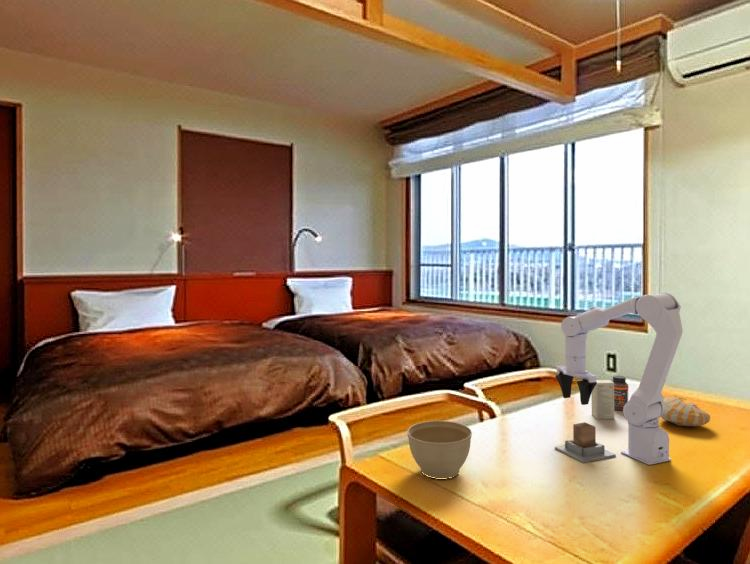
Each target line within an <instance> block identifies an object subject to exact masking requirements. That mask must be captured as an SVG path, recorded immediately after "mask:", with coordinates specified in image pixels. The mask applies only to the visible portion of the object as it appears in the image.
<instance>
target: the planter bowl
mask: <svg viewBox="0 0 750 564" xmlns="http://www.w3.org/2000/svg"><path fill="white" fill-rule="evenodd" d="M406 431H407V432H406V433H407V438H408V445H409V450H410V453H411V455H412V458H413V460H414V461H415V463H416V464H417V465H418V467H419V468H420V471H422V472H423V473H424V474H426V475H428V476H431V477H435V478H449V477H453V476H456V475H457V474H458V473H459V474H460V469H461V468H462V467H463V465H464V464H465V462H466V460H467V458H468V456H469V452H470V448H471V442H472V441H471V440H472V435H473V434H472V433H473V432H472V430H471V428H470V427H469V426H466V425H465V424H461V423H459V422H456V421H450V420H426V421H423V422H418V423H415V424H413V425H411V426H409V428H408V429H407V430H406ZM422 472H421V473H422ZM459 474H458V475H459ZM458 475H457V476H458ZM457 476H456V477H457Z"/></svg>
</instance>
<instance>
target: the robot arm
mask: <svg viewBox="0 0 750 564" xmlns="http://www.w3.org/2000/svg"><path fill="white" fill-rule="evenodd" d="M681 308H682V307H681V305H680V303H679V301H678V300H677V299H676V298H675V296H674V295H672V294H671V293H670V292H669V293H668V292H660V293H656V294H644V295H641V296H635V297H632V298H631V297H630V298H628V299H626V300H624V301H621V302H619V303H616V304H614V305H611V306H610V307H607V308H603V307H600V306H596V305H594V306H591V307H589V310H586V311H584V312H577V313H576V315H575V316H567V317H565V318H564V319H562V320H561V324H560V329H561V331H562V333H563V334H564V335H565V336H564V337H565V340H564V342H565V345H564V347H565V349H564V350H565V351H564V352H565V354H564V355H565V357H564V359H565V361H564V362H565V365H557V366H556V373H557V374H555V379H556V380H557V382H558V384H559V386H560V390H561V393H562V397H563V399H570V398H571V395H572V385H573V380H574V378H577V379H580V380H577V381H576V383H577V386H578V391H579V397H580V399H579V400H580V405H581V406H582V405H583V406H585V405H589V403H590V399H591V397H592V394H591V393H592V391H593V389H594V387H595V386H596V384H597V382H596V380H597V375H596V374H593V373H592V372H590V371H587V370H586V369H587V367H586V366H587V364H586V362H587V350H586V349H587V346H586V345H587V343H586V341H587V334H588V333H590V332H591V331H595V330H598V329H601V328H604V327H607V326H608V325H609V323H610V320H613V319H616V318H619V317H623V316H625V315H629V314H632V315H635V316H636V315H639V317H641V318H642V319H643V320H644V321H645V322H646V323H648V324H649V325H650V326H651V328H653V330H654V332H655V333H656V335H655V339H654V341H653V344H652V348H651V350H650V352H649V353H650V354H649V356H648V359H647V362H646V365H645V367H644V370H643V373H642V376H641V379H640V383H639V385H638V388H636V390H635V391H634V392H633V393H632V394H631V397H630V399H628V402H627V403H626V404H625V405H624V408H623V411H622V413H623V416H624V418H625V419H626V421H627V424H628V427H627V428H628V429H627V432H628V433H627V436H628V440H627V441H628V442H627V446H628V449H622V450H620V454H623V455H626V456H628V457H630V458H632V459H635V460H636V461H639V462H642V463H644V464H646V465H655V464H659V463H661V464H662V463H665V462H671V461H672V458H671V457H670V437H669V434H668V432H667V431H666V430H664V429H663V428H662V427H660V425H659V424H660V423H659V418H662V417H661V416H662V414H663V411H664V409H663V400H664V399H665V396H664V395H663V394H662V392H663V389H664V386H665V383H666V381H667V377H668V374H669V371H670V368H671V366H672V364H673V360H674V358H675V356H676V355H675V354H676V352H677V349H678V348H679V347H678V346H679V344H680V341H681V338H682V335H683V325H682V319H681V313H680V311H681Z"/></svg>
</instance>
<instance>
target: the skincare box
mask: <svg viewBox="0 0 750 564" xmlns="http://www.w3.org/2000/svg"><path fill="white" fill-rule="evenodd" d="M612 381H613V380H611V379H596V382H597V384H596V386H595V387H594V389H593V391H592V393H591V416H592V417H593V418H594V419H597V420H603V419H609V420H610V419H612V420H613V419H615V410H614V382H612Z"/></svg>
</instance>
